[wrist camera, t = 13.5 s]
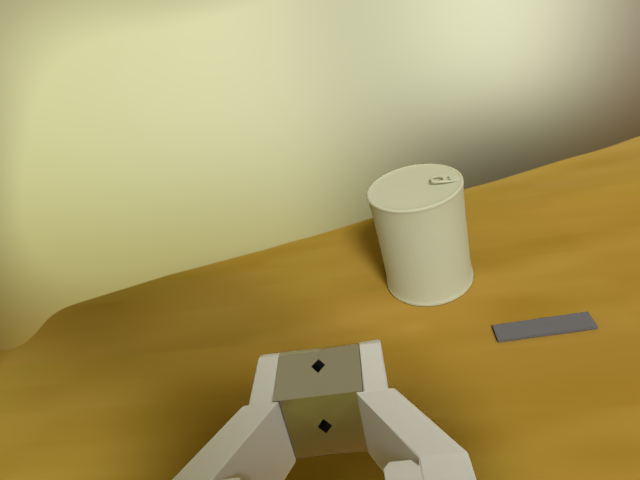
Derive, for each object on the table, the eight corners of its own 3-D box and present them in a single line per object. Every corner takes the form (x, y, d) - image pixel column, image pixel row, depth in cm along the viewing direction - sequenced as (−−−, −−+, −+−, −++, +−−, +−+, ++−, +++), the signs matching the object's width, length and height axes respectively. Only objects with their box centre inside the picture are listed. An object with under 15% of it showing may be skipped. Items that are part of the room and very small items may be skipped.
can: (480, 302, 43) (470, 196, 36) (386, 311, 45) (362, 213, 39) (467, 247, 50) (457, 152, 44) (387, 257, 52) (367, 168, 46)
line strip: (498, 342, 38) (498, 340, 38) (492, 327, 40) (492, 325, 39) (597, 328, 37) (597, 326, 36) (587, 314, 38) (587, 311, 38)
